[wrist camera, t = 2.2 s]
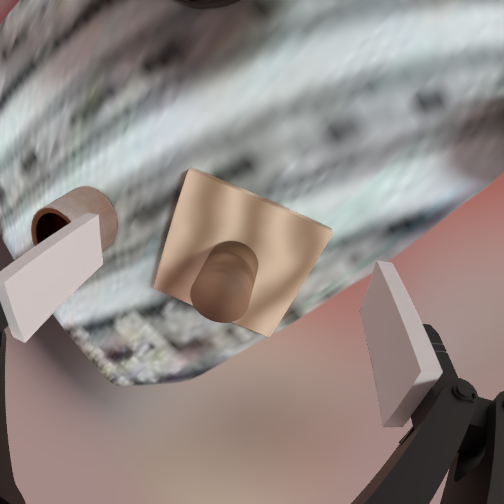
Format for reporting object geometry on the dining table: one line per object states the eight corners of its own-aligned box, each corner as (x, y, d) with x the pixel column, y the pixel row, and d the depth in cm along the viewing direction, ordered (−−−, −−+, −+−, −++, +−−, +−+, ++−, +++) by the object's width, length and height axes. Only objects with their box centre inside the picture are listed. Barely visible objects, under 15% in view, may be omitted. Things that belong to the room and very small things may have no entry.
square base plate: (156, 282, 49) (130, 321, 40) (192, 167, 40) (161, 188, 31) (270, 331, 50) (263, 377, 41) (331, 228, 41) (339, 266, 32)
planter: (102, 259, 49) (71, 290, 40) (59, 218, 47) (24, 243, 38) (131, 215, 44) (96, 243, 36) (82, 171, 42) (42, 190, 33)
